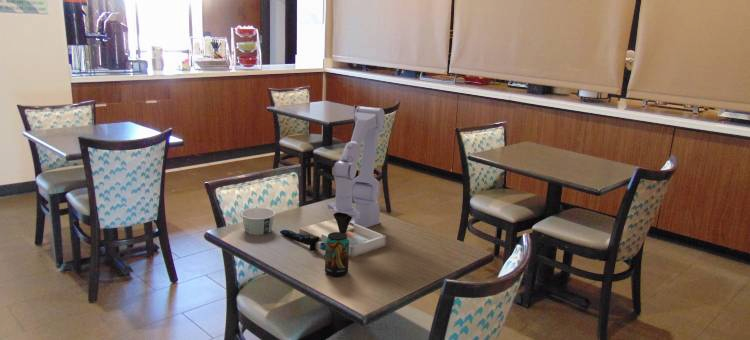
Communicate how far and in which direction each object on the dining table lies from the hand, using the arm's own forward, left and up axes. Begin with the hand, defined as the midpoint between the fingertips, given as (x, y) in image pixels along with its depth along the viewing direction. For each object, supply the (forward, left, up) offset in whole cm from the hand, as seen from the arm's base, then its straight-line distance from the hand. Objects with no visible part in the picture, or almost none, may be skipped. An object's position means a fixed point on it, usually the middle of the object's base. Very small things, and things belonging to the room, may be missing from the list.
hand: (342, 232), depth 195 cm
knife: (+13, -3, -3) cm, 14 cm away
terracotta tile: (0, +3, -2) cm, 3 cm away
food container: (+17, -26, -3) cm, 31 cm away
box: (0, +6, -3) cm, 6 cm away
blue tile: (0, +7, -2) cm, 8 cm away
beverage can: (+19, +18, -3) cm, 26 cm away
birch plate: (0, -8, -3) cm, 8 cm away
